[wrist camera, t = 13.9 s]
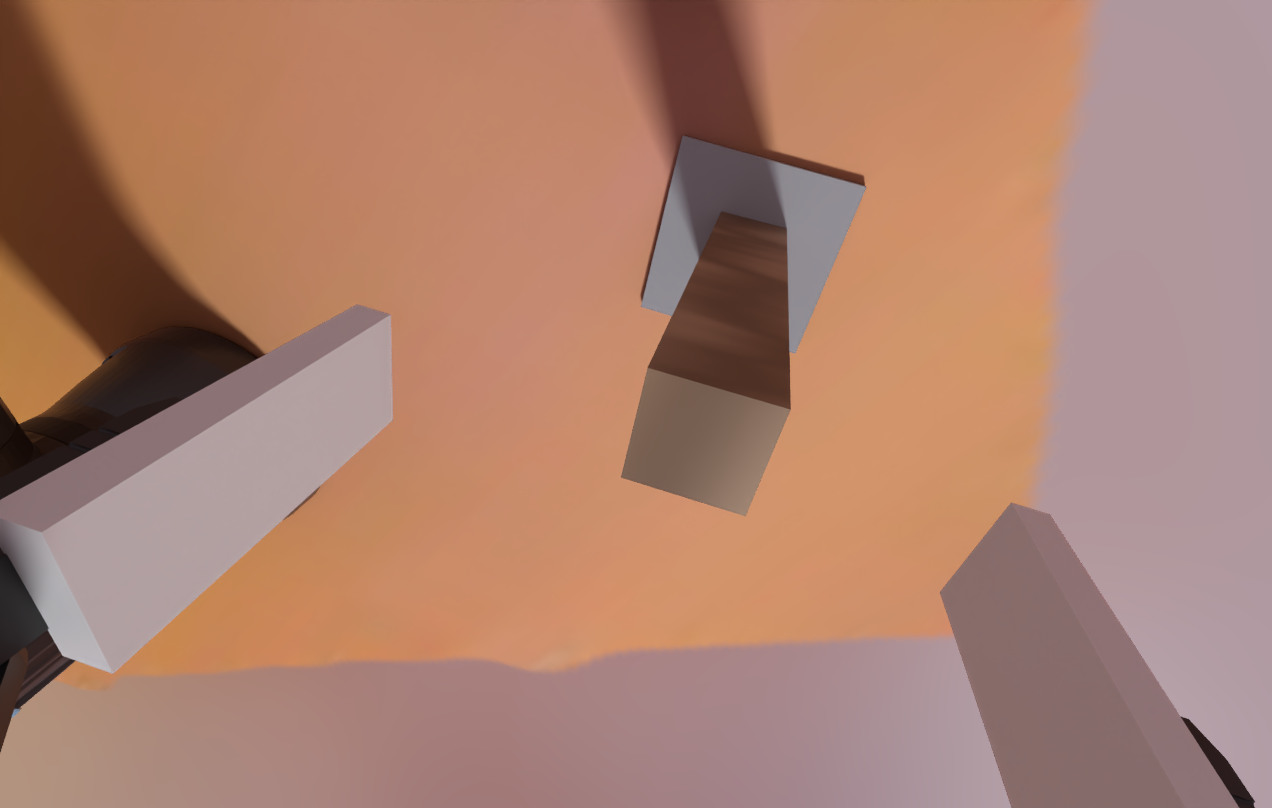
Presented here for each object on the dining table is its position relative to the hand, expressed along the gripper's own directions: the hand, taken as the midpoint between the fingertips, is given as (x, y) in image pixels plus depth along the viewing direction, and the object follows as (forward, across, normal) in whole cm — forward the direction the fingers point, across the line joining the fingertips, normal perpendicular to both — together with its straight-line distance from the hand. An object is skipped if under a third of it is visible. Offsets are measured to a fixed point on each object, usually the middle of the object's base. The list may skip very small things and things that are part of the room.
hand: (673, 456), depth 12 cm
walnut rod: (+16, +1, 0) cm, 16 cm away
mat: (+17, +1, 0) cm, 17 cm away
